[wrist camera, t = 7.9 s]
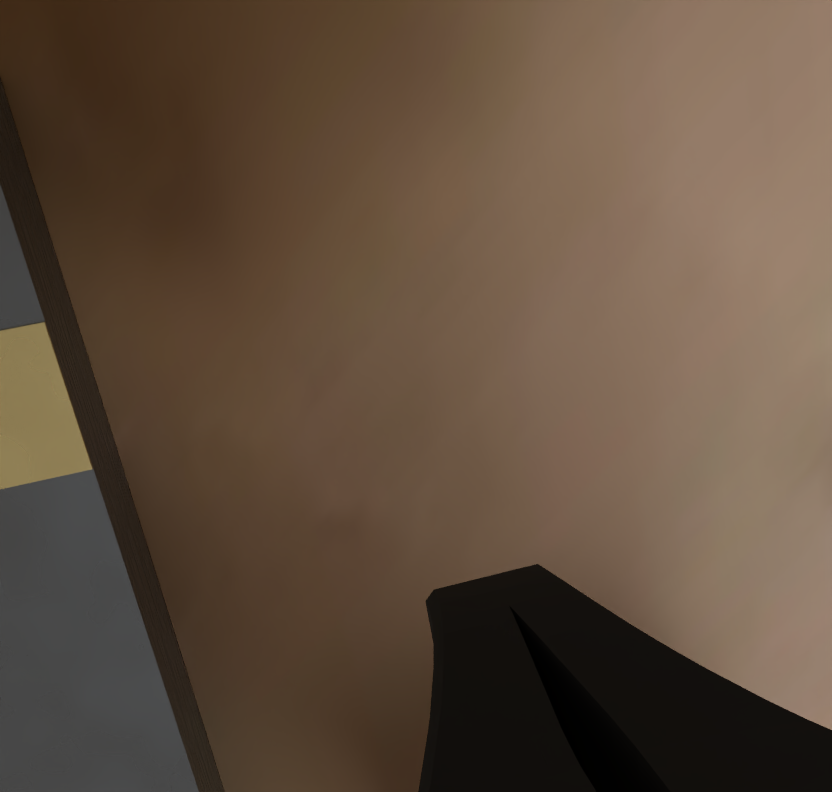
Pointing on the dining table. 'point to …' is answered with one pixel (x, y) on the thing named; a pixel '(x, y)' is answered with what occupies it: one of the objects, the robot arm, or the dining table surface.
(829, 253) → the dining table surface
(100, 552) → the console
